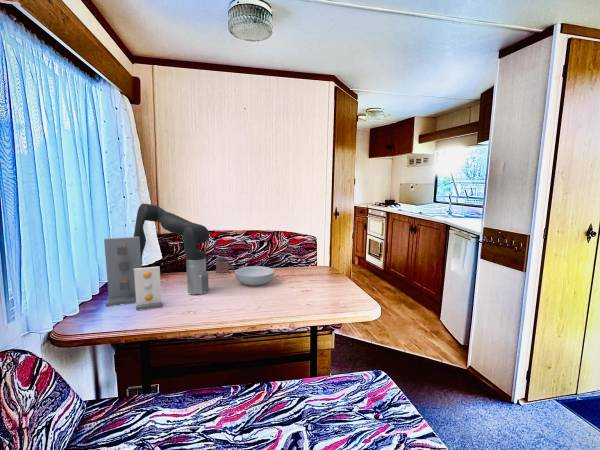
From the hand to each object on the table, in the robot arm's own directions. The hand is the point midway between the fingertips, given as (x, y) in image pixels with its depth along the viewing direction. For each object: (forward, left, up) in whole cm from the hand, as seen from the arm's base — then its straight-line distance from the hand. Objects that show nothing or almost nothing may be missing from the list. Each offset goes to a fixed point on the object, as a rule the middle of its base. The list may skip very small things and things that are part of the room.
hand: (126, 280), depth 154 cm
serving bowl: (-49, -38, -8) cm, 62 cm away
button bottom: (-3, +3, -2) cm, 5 cm away
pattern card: (-19, +7, -8) cm, 22 cm away
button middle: (-1, +1, +6) cm, 6 cm away
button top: (-3, +3, +14) cm, 15 cm away
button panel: (-2, +2, -8) cm, 9 cm away
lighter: (-23, -49, -8) cm, 54 cm away
